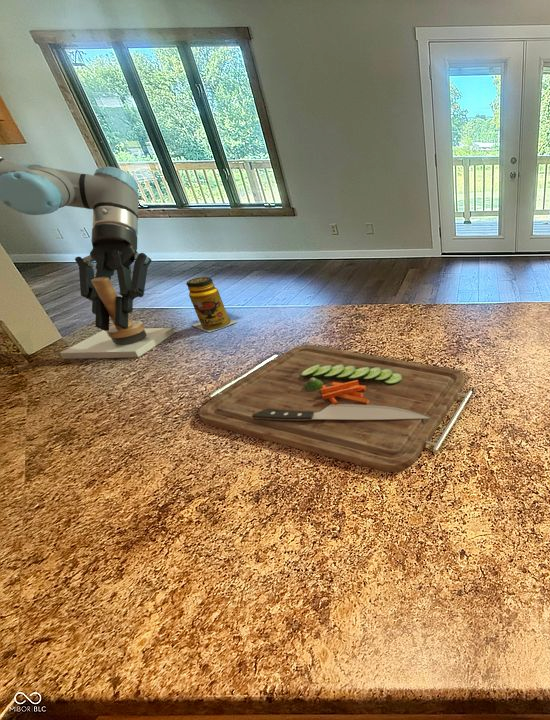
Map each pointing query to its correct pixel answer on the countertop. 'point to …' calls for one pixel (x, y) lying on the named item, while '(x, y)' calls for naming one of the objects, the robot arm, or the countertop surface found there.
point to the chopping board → (341, 405)
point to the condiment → (208, 305)
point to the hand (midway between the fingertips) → (111, 327)
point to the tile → (116, 345)
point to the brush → (109, 301)
